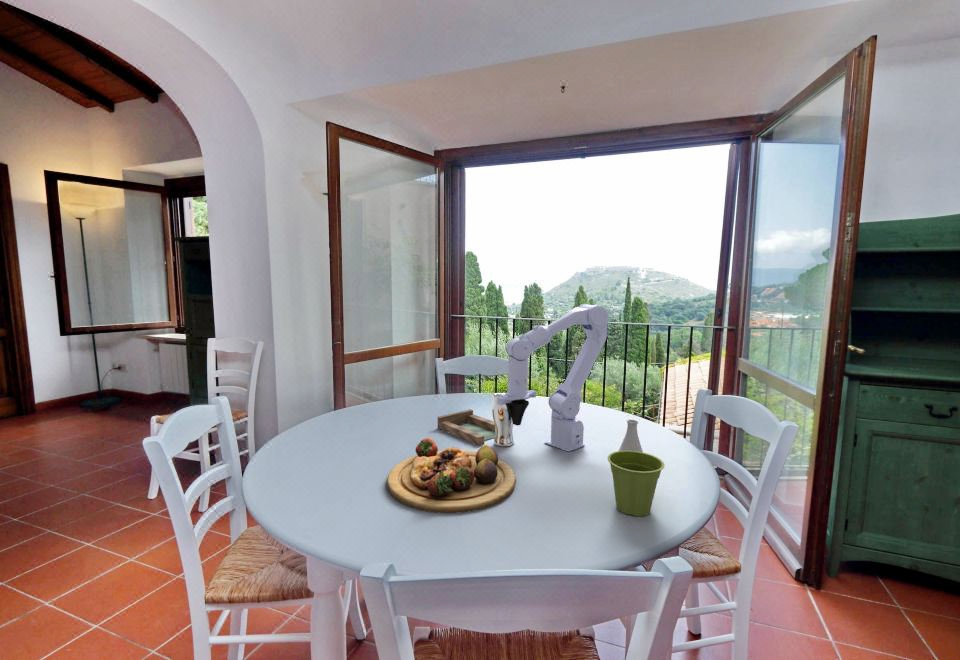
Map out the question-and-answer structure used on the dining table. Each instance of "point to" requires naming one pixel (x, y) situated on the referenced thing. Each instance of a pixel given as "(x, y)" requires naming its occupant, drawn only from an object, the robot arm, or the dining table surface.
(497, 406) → the beer glass
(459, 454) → the wooden plate with food
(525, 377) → the robot arm
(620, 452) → the plant pot
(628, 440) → the flask
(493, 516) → the dining table surface
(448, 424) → the cradle
